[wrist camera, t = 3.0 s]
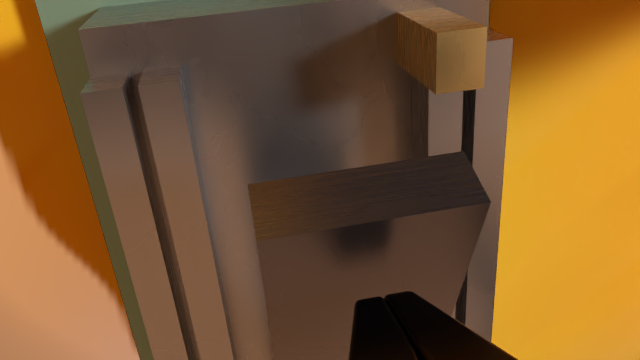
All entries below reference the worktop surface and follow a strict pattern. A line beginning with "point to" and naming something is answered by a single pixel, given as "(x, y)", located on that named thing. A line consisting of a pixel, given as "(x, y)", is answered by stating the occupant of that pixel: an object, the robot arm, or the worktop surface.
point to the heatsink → (276, 137)
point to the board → (72, 72)
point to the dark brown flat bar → (362, 245)
